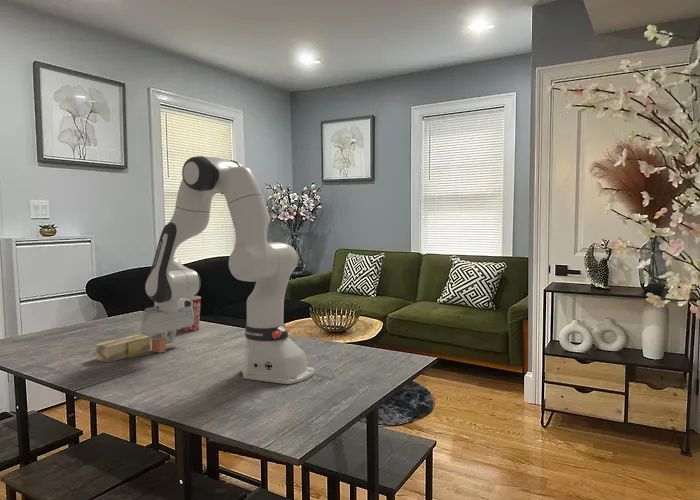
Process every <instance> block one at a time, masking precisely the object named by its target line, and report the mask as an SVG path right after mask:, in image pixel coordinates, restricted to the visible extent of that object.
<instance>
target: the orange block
mask: <svg viewBox="0 0 700 500" xmlns="http://www.w3.org/2000/svg"><path fill="white" fill-rule="evenodd" d="M151 352H154V353H159V354H160V353H164V352H167V351H166V344H165V340H164V339H163V338H159V337H156V338H153V339H151Z"/></svg>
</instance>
